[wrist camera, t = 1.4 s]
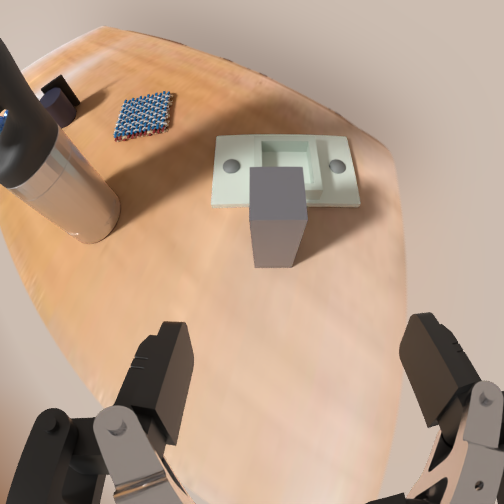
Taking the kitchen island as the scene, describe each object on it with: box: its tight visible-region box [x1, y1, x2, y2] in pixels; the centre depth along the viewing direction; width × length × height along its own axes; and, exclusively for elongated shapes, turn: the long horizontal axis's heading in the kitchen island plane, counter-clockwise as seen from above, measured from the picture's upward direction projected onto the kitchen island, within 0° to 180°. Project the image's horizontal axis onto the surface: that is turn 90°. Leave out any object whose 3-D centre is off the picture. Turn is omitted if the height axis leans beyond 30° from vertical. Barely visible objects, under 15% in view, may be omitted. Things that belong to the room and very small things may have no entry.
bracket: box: [211, 134, 361, 208], centre depth 38 cm, size 20×12×4 cm, turn 90°
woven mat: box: [113, 91, 174, 142], centre depth 44 cm, size 10×11×2 cm
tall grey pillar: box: [249, 167, 308, 268], centre depth 29 cm, size 4×5×14 cm
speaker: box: [40, 75, 80, 128], centre depth 43 cm, size 8×6×10 cm
